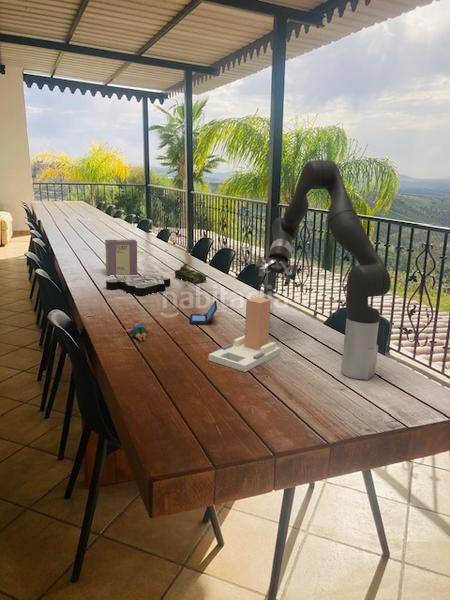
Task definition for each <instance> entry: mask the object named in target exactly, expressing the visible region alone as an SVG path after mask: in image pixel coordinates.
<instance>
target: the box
mask: <svg viewBox="0 0 450 600" xmlns="http://www.w3.org/2000/svg"><path fill="white" fill-rule="evenodd" d="M104 243H105V274H106V273H107V274H106V276H107V275H108V276H110V275H137V276H138V241H137V240H136V239H105V242H104ZM108 276H107V277H108Z"/></svg>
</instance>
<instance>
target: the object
mask: <svg viewBox="0 0 450 600" xmlns="http://www.w3.org/2000/svg"><path fill="white" fill-rule="evenodd" d="M217 310H218V305H217V300H214V302H213V304H212V305H211V306H210V308H209V309H208V311H207V312H206V313H191V314H190V315H189V324H190V325H191V326H209V322H210V321H211V319H212V317H213V316H214V315H215V313H216V312H217Z"/></svg>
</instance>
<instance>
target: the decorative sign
mask: <svg viewBox="0 0 450 600" xmlns="http://www.w3.org/2000/svg"><path fill="white" fill-rule="evenodd" d="M169 286H170V287H171V278H164V277H163V275H157V274H152V275H151V274H144V275H137V276H122V277H118V278H112V279H107V280H105V289H107V291H118V290H121V289H122V290H121V291H123V292H125V291H126V292H125V293H126V294H128V293H130V294H129V295H134V294H135V295H134V296H135V297H146V295H147V296H149V295H148V294H150V295H153V294H152V293H154V294H157V292H158V293H165V292H166V288H170V287H169ZM117 289H118V290H117ZM159 291H160V292H159ZM164 291H165V292H164Z"/></svg>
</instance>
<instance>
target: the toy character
mask: <svg viewBox="0 0 450 600" xmlns="http://www.w3.org/2000/svg"><path fill="white" fill-rule="evenodd" d="M148 331H155V328H154V327H146V326H144V325H143V324H141V323H139V321H135V322H134V323H133V328H129V329H122V330H121V331H120V333H126V332H127V333H132V335H133V337H134V338H136V339H138V340H139V342H142V341H144V342H145V341H146V339H147V336H148Z"/></svg>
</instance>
